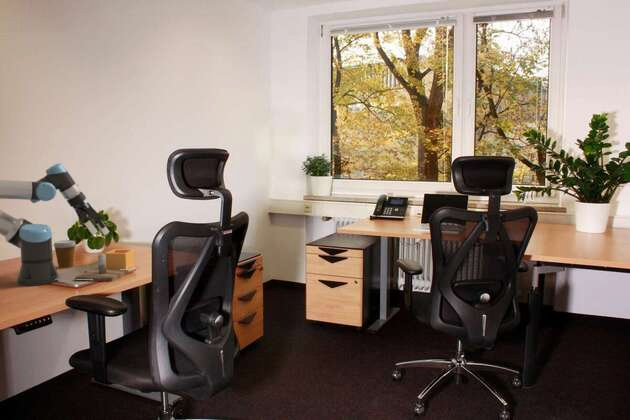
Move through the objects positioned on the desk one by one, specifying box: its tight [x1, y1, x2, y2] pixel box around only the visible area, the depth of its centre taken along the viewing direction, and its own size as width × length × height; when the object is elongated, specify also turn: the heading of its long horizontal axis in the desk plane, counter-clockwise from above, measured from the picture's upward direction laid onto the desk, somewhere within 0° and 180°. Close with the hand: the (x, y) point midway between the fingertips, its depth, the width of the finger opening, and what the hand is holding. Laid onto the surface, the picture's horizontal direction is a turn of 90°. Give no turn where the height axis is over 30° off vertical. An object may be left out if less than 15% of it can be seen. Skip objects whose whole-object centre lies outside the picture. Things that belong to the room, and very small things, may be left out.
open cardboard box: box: [103, 248, 136, 269], centre depth 250 cm, size 10×10×8 cm
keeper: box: [74, 253, 130, 282], centre depth 234 cm, size 16×16×10 cm
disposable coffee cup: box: [53, 239, 77, 269], centre depth 254 cm, size 10×10×12 cm
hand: (101, 233), depth 251 cm, fingers open, 13 cm apart
